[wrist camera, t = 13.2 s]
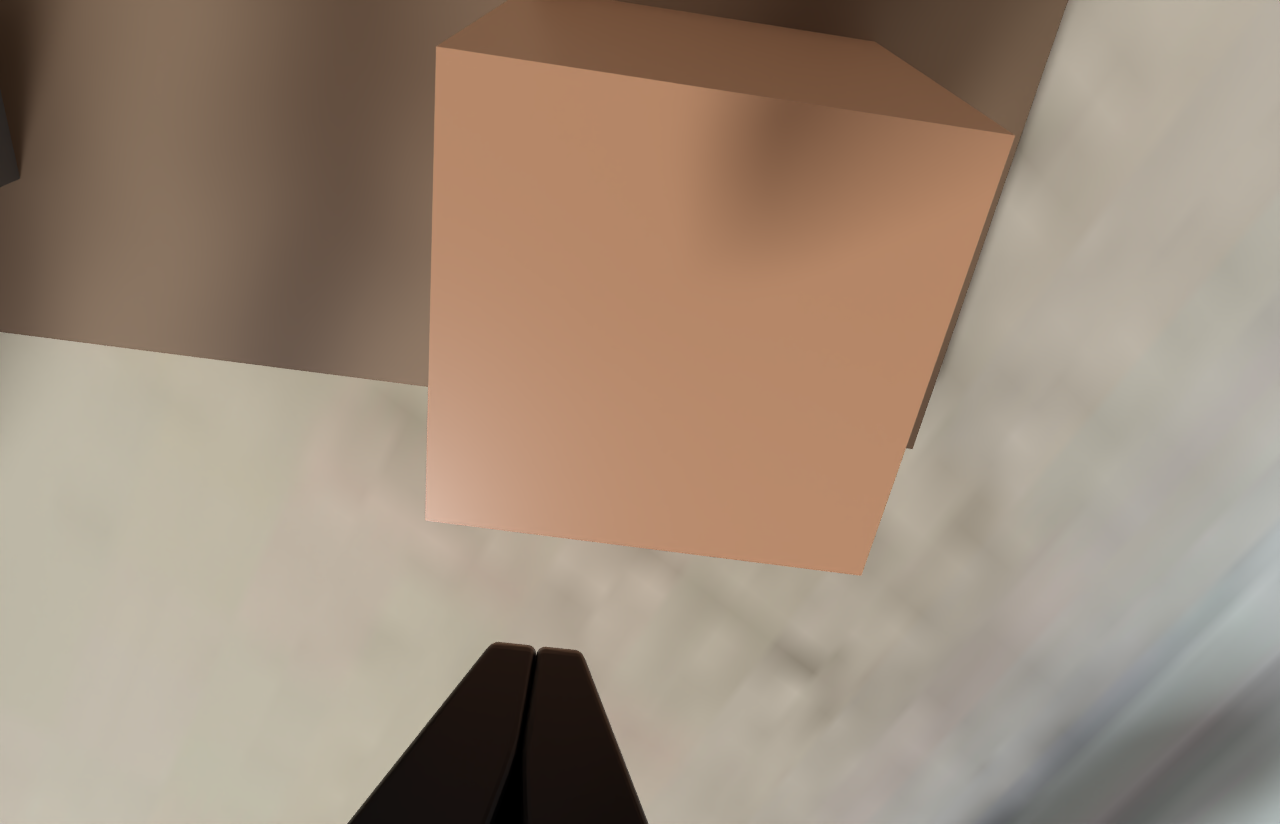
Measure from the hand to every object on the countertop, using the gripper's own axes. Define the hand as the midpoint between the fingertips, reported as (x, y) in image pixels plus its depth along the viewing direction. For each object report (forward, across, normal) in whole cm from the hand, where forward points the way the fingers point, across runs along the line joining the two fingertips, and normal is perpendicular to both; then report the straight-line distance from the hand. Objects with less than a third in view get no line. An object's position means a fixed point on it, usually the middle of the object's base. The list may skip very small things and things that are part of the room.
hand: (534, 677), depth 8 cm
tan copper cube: (+11, -1, -2) cm, 11 cm away
